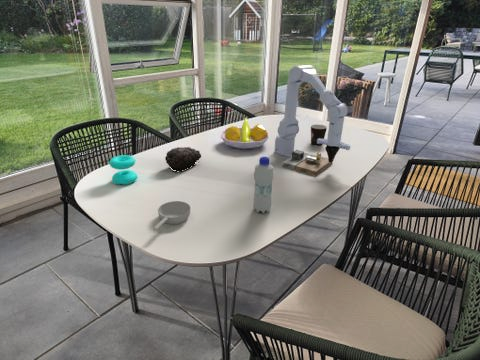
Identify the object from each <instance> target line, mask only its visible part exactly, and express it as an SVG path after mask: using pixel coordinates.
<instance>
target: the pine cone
mask: <svg viewBox="0 0 480 360" xmlns="http://www.w3.org/2000/svg"><path fill="white" fill-rule="evenodd" d="M201 157H202V154H201V152H200V150H198V149H197V150H196V149H195V148H192V147H189V146H187V147H185V146H184V147H183V146H182V147H179V146H178V147H174V148H172V149H170V150H169V151H167V152H166V155H165V157H164V159H165V163H166V164H167V165H168V166H169V168H170V167H171V168H172V169H173V170H176V171H181V172H183V171H182V170H185V169H187V168H189V169H191V168H190V167H191V166H193V167H195V166H194V164H195V162H198V161H199V160H200V159H201ZM187 170H188V169H187ZM185 171H186V170H185Z"/></svg>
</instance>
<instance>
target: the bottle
mask: <svg viewBox="0 0 480 360" xmlns="http://www.w3.org/2000/svg"><path fill="white" fill-rule="evenodd" d="M270 162H271V161H270V158H269V157H267V156H261V157H259V160H258V163H257V164H256V165H255V166H254V171H253V173H254V174H253V180H254V192H253V195H254V197H253V209H254V211H256V212H257V213H260V212H261V213H262V214H265V212H266V213H269V212H270V210H271V207H272V190H273V181H274V167H273V165H271V163H270Z"/></svg>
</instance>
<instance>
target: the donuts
mask: <svg viewBox="0 0 480 360" xmlns="http://www.w3.org/2000/svg"><path fill="white" fill-rule="evenodd" d="M108 163H109V166H110V167H111V168H112V169H115V170H118V171H117V172H115V173H114V174H113V175H112V176H111V177H112V178H111V180H112V182H113V183H114V184H115V183H116V185H118V184H127V185H130V184H129V183H131V184H133V183H134V181H135V180H136V179H137V180H138V173H137V172H135V171H133V170H131V169H130V168H132V167H133V166H134V165H135V164H136V159H135V157H134V156H132V155H128V154H123V155H122V154H121V155H116V156H113V157H112V158H111V159H110V160H109V162H108ZM129 169H130V170H129ZM137 180H136V181H137ZM136 181H135V182H136ZM132 182H133V183H132Z"/></svg>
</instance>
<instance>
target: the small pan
mask: <svg viewBox="0 0 480 360" xmlns="http://www.w3.org/2000/svg"><path fill="white" fill-rule="evenodd" d="M157 213H158V217H159V218H160V221H159V222H157V224H156V225H155V226H154V227H153V230H158V229H159V228H160V227H161V226H162V225H164V223H165V224H167V225H179V224H183V223H184V222H186V221H187V219H188V218H189V217H190V215H191V205H190V204H189V203H187V202H185V201H179V200H175V201H174V200H173V201H168V202H165V203H163V204H161V205H160V206H159V207H157Z"/></svg>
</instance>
